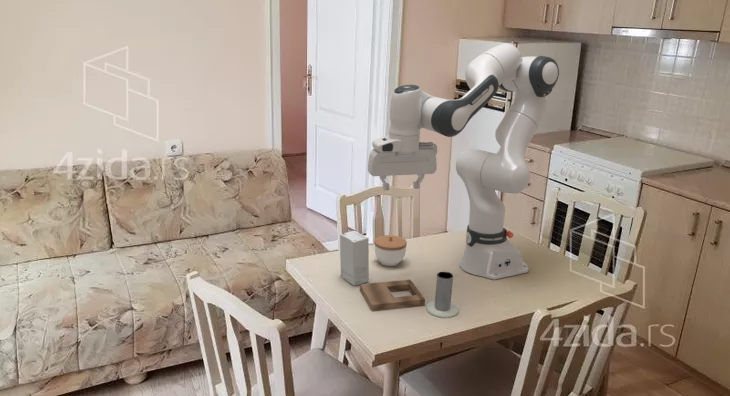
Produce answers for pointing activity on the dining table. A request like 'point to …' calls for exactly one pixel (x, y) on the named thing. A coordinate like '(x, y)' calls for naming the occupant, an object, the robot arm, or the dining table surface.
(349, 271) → the skincare box
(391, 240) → the lidded jar
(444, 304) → the grey cylinder
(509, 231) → the robot arm
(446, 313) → the saucer
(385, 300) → the pocket board
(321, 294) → the dining table surface
